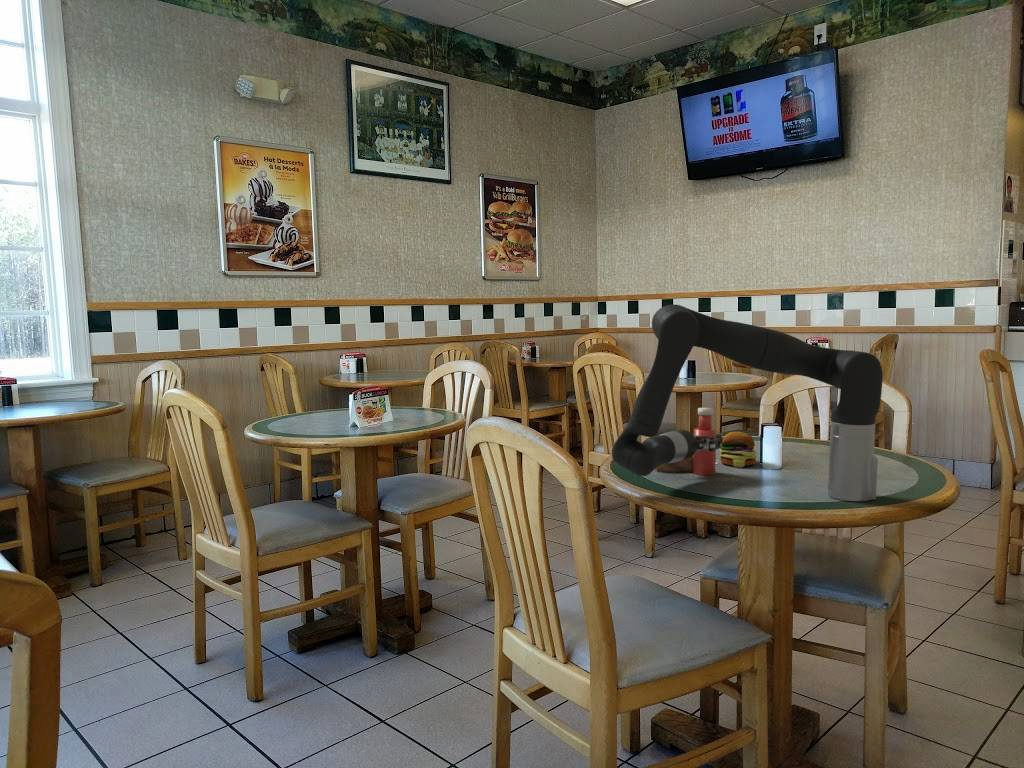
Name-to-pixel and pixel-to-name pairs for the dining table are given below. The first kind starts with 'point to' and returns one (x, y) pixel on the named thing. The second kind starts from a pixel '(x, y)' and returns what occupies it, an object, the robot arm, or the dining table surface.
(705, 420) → the ketchup bottle
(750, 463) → the cheeseburger
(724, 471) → the dining table surface
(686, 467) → the walnut block
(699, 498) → the dining table surface
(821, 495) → the dining table surface
